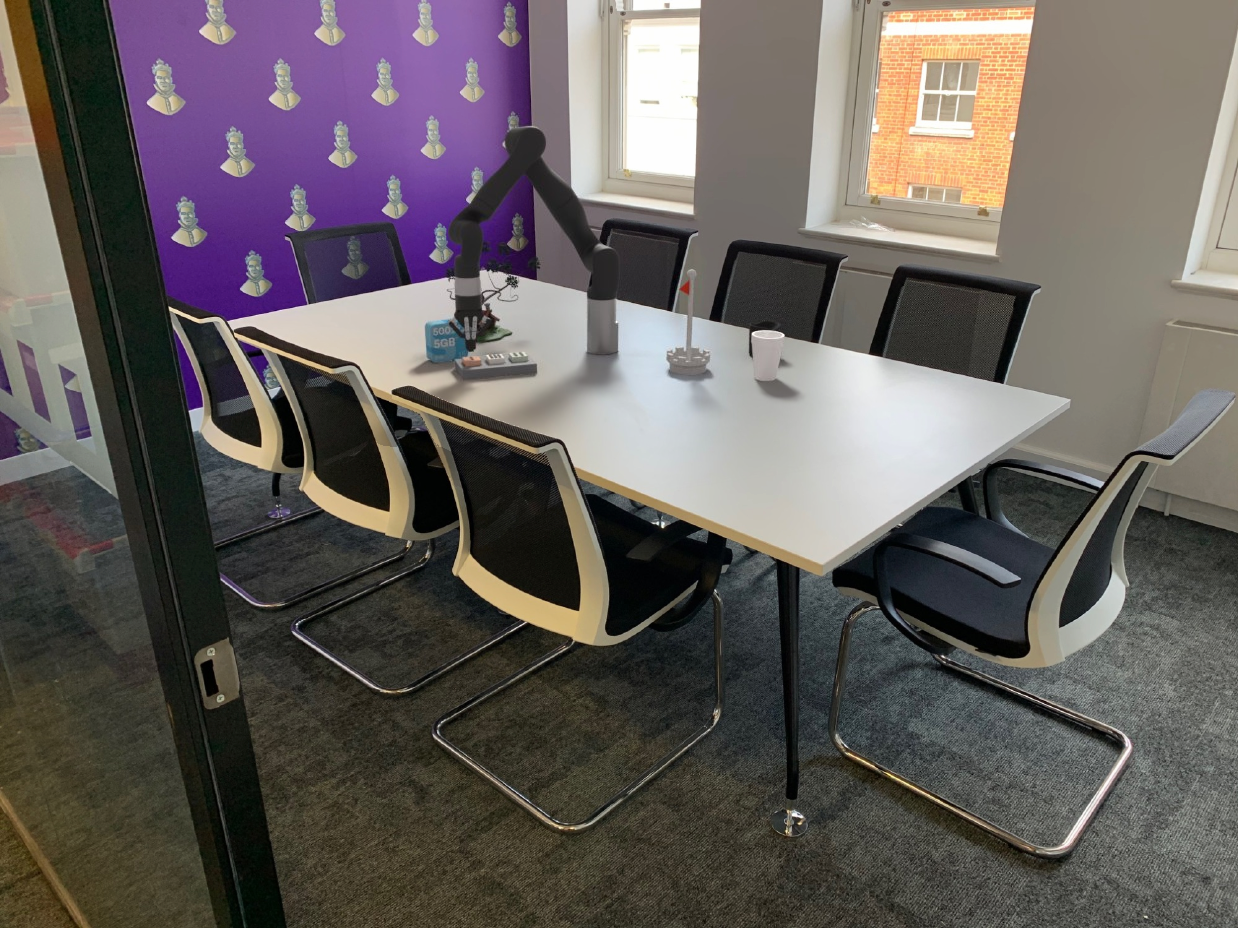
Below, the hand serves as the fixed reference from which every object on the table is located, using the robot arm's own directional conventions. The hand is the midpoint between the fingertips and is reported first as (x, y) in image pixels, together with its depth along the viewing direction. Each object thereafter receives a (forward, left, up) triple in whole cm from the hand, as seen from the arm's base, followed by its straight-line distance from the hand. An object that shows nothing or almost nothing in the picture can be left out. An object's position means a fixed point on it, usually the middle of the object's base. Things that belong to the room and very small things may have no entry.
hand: (470, 351), depth 275 cm
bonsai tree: (-17, -40, -7) cm, 44 cm away
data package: (+4, -17, -7) cm, 19 cm away
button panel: (-7, 0, -7) cm, 10 cm away
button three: (-7, 0, -5) cm, 9 cm away
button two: (-14, 0, -5) cm, 15 cm away
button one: (0, 0, -5) cm, 5 cm away
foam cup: (-80, +31, -7) cm, 86 cm away
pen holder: (-91, +9, -7) cm, 92 cm away
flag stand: (-62, +16, -7) cm, 65 cm away
